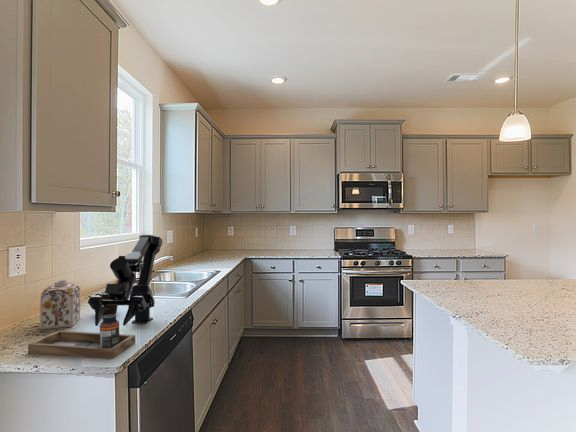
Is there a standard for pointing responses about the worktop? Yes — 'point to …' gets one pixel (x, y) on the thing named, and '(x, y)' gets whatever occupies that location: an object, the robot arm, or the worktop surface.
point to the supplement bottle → (109, 331)
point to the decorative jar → (60, 305)
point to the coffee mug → (109, 308)
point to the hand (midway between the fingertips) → (110, 325)
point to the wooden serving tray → (79, 345)
